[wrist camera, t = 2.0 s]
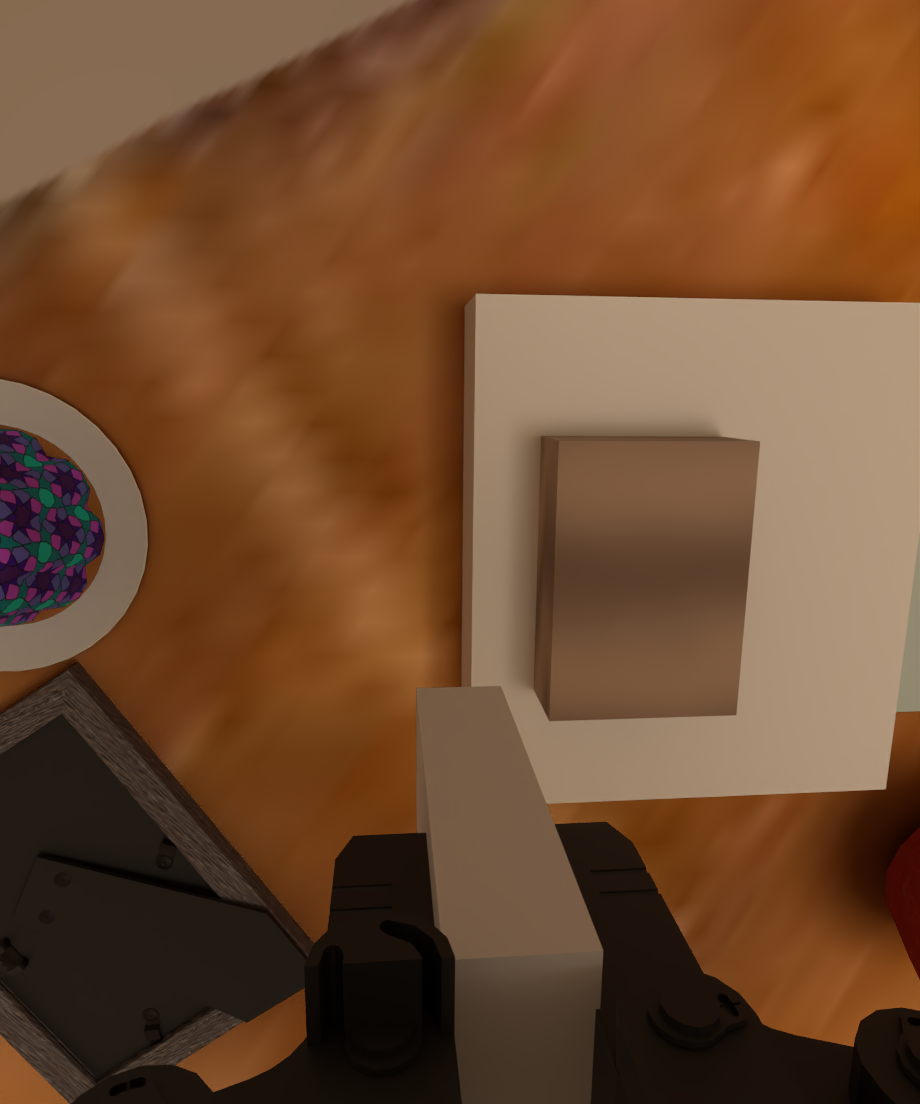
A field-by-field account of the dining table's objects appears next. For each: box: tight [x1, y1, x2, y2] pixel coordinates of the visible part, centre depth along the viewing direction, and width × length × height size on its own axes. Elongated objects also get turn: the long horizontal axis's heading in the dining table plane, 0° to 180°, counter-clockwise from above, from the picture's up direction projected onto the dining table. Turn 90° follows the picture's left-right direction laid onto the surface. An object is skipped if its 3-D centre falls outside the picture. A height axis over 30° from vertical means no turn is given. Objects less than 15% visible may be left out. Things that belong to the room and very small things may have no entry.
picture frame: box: [0, 662, 314, 1104], centre depth 34 cm, size 13×2×18 cm
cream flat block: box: [461, 294, 920, 804], centre depth 32 cm, size 20×18×4 cm
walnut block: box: [534, 436, 760, 721], centre depth 28 cm, size 10×7×3 cm
